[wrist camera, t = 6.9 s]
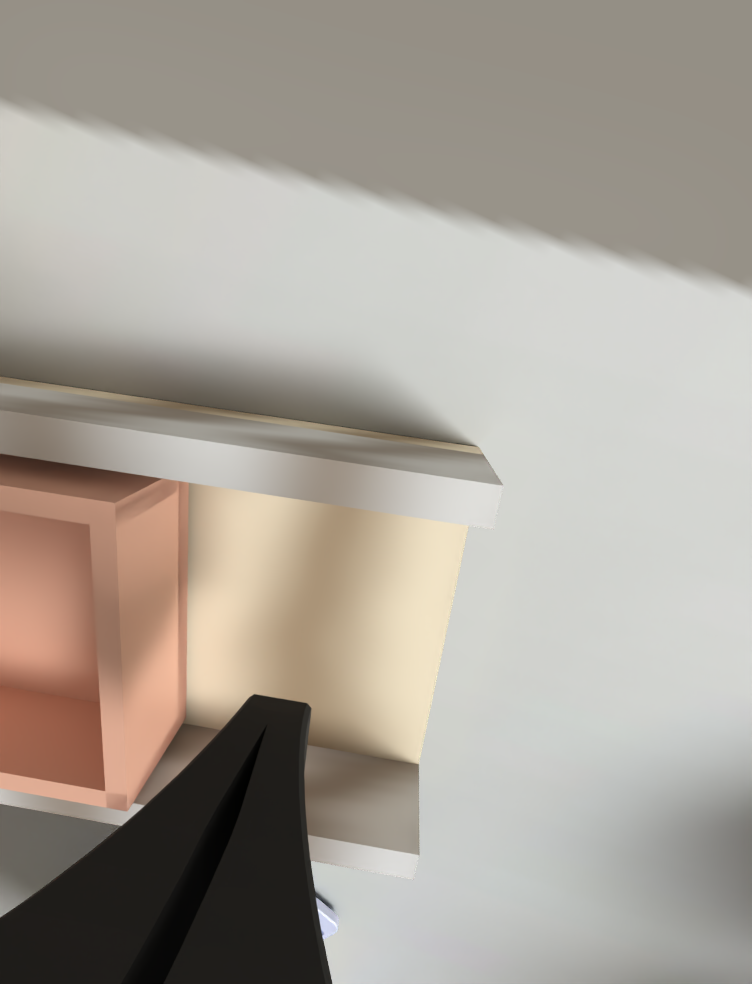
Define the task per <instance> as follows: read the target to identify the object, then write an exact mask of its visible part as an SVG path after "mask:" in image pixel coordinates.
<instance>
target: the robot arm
mask: <svg viewBox="0 0 752 984" xmlns="http://www.w3.org/2000/svg"><path fill="white" fill-rule="evenodd" d="M311 709H312V708H311V707H310V706H309V704H308V703H304V702H298V701H292V700H286V699H281V698H275V697H269V696H263V695H257V694H253V695H252V696H250V697H249V698H248V699H247V700H246V702H245V703H244V704H243V705H242V706H241V708H240V709H239V710H238V711H237V712H236V714H235V715H234V716H233V717H232V718H231V719H230V720H229V722H228V723H227V724H226V725H225V726H224V727H223V728H222V729H221V730H220V732H219V733H218V734H217V735H216V736H215V737H214V738H213V739H212V740H211V741H210V742H209V743H208V744H207V745H206V747H205V748H204V749H203V750H202V751H201V752H200V753H199V754H198V755H197V756H196V757H195V758H194V759H193V760H192V761H191V762H190V763H189V764H188V765H187V766H186V767H185V768H184V769H183V770H182V771H181V772H180V773H179V774H178V775H177V776H176V777H175V778H174V779H173V780H172V781H171V782H169V783H168V784H167V785H166V786H165V787H164V788H163V789H162V790H161V791H160V792H159V793H158V794H157V795H156V796H154V797H153V798H152V799H151V800H150V801H149V802H148V803H147V804H146V805H145V806H144V807H143V808H141V809H140V810H139V811H138V812H137V813H136V814H135V815H134V816H132V817H131V818H130V819H129V820H128V821H127V822H125V823H124V824H123V825H122V826H121V827H120V828H118V829H117V830H116V831H115V832H114V833H112V834H111V835H110V836H109V837H108V838H106V839H105V840H104V841H103V842H101V843H100V844H99V845H98V846H97V847H95V848H94V849H93V850H92V851H90V852H89V853H88V854H87V855H85V856H84V857H83V858H81V859H80V860H79V861H77V862H76V863H75V864H73V865H72V866H71V867H70V868H68V869H67V870H66V871H64V872H63V873H62V874H60V875H59V876H58V877H56V878H55V879H54V880H53V881H51V882H50V883H49V884H47V885H46V886H45V887H43V888H42V889H40V890H39V891H38V892H36V893H35V894H34V895H32V896H31V897H29V898H28V899H27V900H25V901H24V902H22V903H21V904H20V905H18V906H17V907H15V908H14V909H12V910H11V911H9V912H8V913H6V914H5V915H3V916H2V917H0V984H332V980H331V975H330V970H329V966H328V961H327V956H326V951H325V946H324V941H323V940H324V939H326V938H327V937H329V936H331V935H333V934H334V933H336V932H337V930H338V925H339V918H338V916H337V915H336V913H335V912H333V911H332V910H331V909H330V908H329V907H327V906H326V905H325V904H324V903H323V902H321V901H320V900H319V899H318V898H317V897H316V896H315V889H314V882H313V875H312V868H311V860H310V852H309V843H308V832H307V820H306V806H305V779H304V771H305V762H306V753H307V745H308V736H309V727H310V718H311Z"/></svg>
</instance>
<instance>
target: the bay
mask: <svg viewBox="0 0 752 984" xmlns="http://www.w3.org/2000/svg"><path fill="white" fill-rule="evenodd" d="M0 453H1V454H7V455H14V456H20V457H27V458H33V459H39V460H46V461H52V462H59V463H65V464H72V465H78V466H85V467H91V468H98V469H104V470H111V471H117V472H124V473H130V474H137V475H143V476H150V477H156V478H163V479H169V480H176V481H182V482H188V483H189V499H188V595H187V691H186V718H185V720H184V722H183V723H182V725H181V727H180V728H179V730H178V731H177V733H176V735H175V736H174V738H173V739H172V741H171V743H170V744H169V746H168V747H167V749H166V751H165V752H164V754H163V755H162V757H161V759H160V760H159V762H158V764H157V765H156V767H155V768H154V770H153V772H152V773H151V775H150V776H149V778H148V780H147V781H146V783H145V784H144V786H143V788H142V789H141V791H140V792H139V794H138V796H137V797H136V799H135V801H134V802H133V804H132V805H131V807H130V809H129V810H128V812H127V811H122V810H116V809H111V808H105V807H100V806H94V805H89V804H83V803H78V802H72V801H67V800H61V799H56V798H50V797H45V796H39V795H34V794H28V793H23V792H17V791H12V790H6V789H1V788H0V804H5V805H10V806H16V807H21V808H27V809H32V810H37V811H43V812H48V813H54V814H59V815H65V816H70V817H75V818H81V819H86V820H92V821H97V822H103V823H108V824H114V825H119V826H122V825H123V824H124V823H125V822H127V821H128V820H129V819H130V818H131V817H132V816H134V815H135V814H136V813H137V812H138V811H139V810H140V809H141V808H143V807H144V806H145V805H146V804H147V803H148V802H149V801H150V800H151V799H152V798H153V797H154V796H156V795H157V794H158V793H159V792H160V791H161V790H162V789H163V788H164V787H165V786H166V785H167V784H168V783H169V782H171V781H172V780H173V779H174V778H175V777H176V776H177V775H178V774H179V773H180V772H181V771H182V770H183V769H184V768H185V767H186V766H187V765H188V764H189V763H190V762H191V761H192V760H193V759H194V758H195V757H196V756H197V755H198V754H199V753H200V752H201V751H202V750H203V749H204V748H205V747H206V745H207V744H208V743H209V742H210V741H211V740H212V739H213V738H214V737H215V736H216V735H217V734H218V733H219V732H220V730H221V729H222V728H223V727H224V726H225V725H226V724H227V723H228V722H229V720H230V719H231V718H232V717H233V716H234V715H235V714H236V712H237V711H238V710H239V709H240V708H241V706H242V705H243V704H244V703H245V702H246V700H247V699H248V698H249V697H250V696H252V695H253V694H257V695H263V696H269V697H275V698H281V699H286V700H292V701H298V702H304V703H308V704H309V706H310V707H311V708H312V709H311V718H310V727H309V736H308V745H307V753H306V762H305V771H304V779H305V806H306V820H307V832H308V843H309V852H310V860H311V861H315V862H320V863H326V864H331V865H337V866H342V867H347V868H353V869H358V870H364V871H369V872H375V873H380V874H386V875H391V876H396V877H402V878H407V879H413V880H414V876H415V872H416V868H417V863H418V859H419V760H420V756H421V751H422V746H423V741H424V737H425V732H426V727H427V722H428V718H429V713H430V708H431V703H432V698H433V694H434V689H435V684H436V679H437V675H438V670H439V665H440V660H441V656H442V651H443V646H444V641H445V637H446V632H447V627H448V622H449V617H450V613H451V608H452V603H453V598H454V594H455V589H456V584H457V579H458V575H459V570H460V565H461V560H462V556H463V551H464V546H465V541H466V536H467V532H468V527H469V526H474V527H480V528H487V529H493V530H494V526H495V522H496V517H497V513H498V508H499V504H500V500H501V495H502V491H503V487H504V486H503V484H502V483H501V481H500V479H499V478H498V476H497V475H496V473H495V472H494V470H493V468H492V467H491V465H490V464H489V462H488V461H487V459H486V458H485V456H484V454H483V453H482V451H481V450H480V448H479V447H474V446H467V445H461V444H454V443H447V442H440V441H434V440H427V439H420V438H413V437H407V436H400V435H393V434H386V433H380V432H373V431H366V430H359V429H352V428H346V427H339V426H332V425H325V424H319V423H312V422H305V421H298V420H292V419H285V418H278V417H271V416H265V415H258V414H251V413H244V412H237V411H231V410H224V409H217V408H210V407H204V406H197V405H190V404H183V403H177V402H170V401H163V400H156V399H150V398H143V397H136V396H129V395H123V394H116V393H109V392H102V391H95V390H89V389H82V388H75V387H68V386H62V385H55V384H48V383H41V382H35V381H28V380H21V379H14V378H8V377H1V376H0Z"/></svg>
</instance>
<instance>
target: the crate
mask: <svg viewBox="0 0 752 984" xmlns="http://www.w3.org/2000/svg"><path fill="white" fill-rule="evenodd" d="M188 499H189V483H188V482H182V481H176V480H169V479H163V478H156V477H150V476H143V475H137V474H130V473H124V472H117V471H111V470H104V469H98V468H91V467H85V466H78V465H72V464H65V463H59V462H52V461H46V460H39V459H33V458H27V457H20V456H14V455H7V454H1V453H0V788H1V789H6V790H12V791H17V792H23V793H28V794H34V795H39V796H45V797H50V798H56V799H61V800H67V801H72V802H78V803H83V804H89V805H94V806H100V807H105V808H111V809H116V810H122V811H127V812H128V810H129V809H130V807H131V805H132V804H133V802H134V801H135V799H136V797H137V796H138V794H139V792H140V791H141V789H142V788H143V786H144V784H145V783H146V781H147V780H148V778H149V776H150V775H151V773H152V772H153V770H154V768H155V767H156V765H157V764H158V762H159V760H160V759H161V757H162V755H163V754H164V752H165V751H166V749H167V747H168V746H169V744H170V743H171V741H172V739H173V738H174V736H175V735H176V733H177V731H178V730H179V728H180V727H181V725H182V723H183V722H184V720H185V718H186V691H187V595H188Z"/></svg>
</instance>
